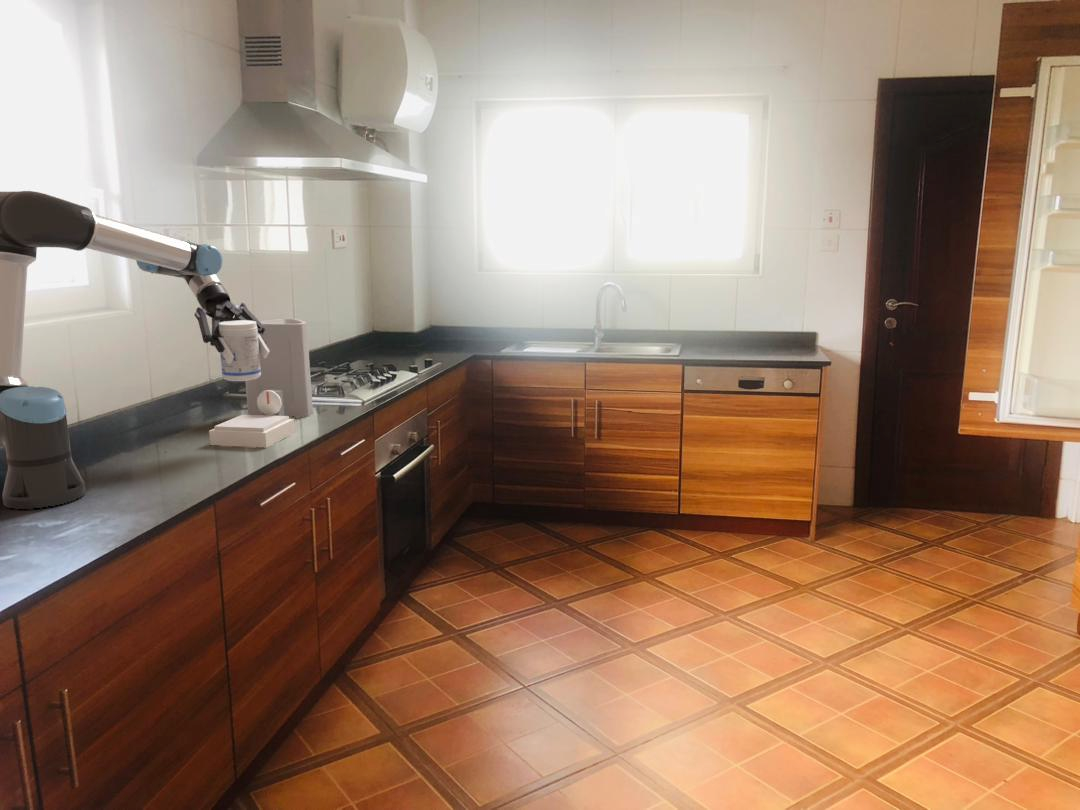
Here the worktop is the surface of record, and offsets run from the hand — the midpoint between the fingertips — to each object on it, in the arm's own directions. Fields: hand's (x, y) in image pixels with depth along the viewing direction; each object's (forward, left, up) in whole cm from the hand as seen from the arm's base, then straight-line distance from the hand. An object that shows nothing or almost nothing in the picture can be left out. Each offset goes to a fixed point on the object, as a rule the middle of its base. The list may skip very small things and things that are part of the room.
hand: (249, 357), depth 214 cm
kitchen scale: (+3, +9, -23) cm, 25 cm away
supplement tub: (-1, +4, -6) cm, 7 cm away
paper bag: (+22, +35, -24) cm, 47 cm away
